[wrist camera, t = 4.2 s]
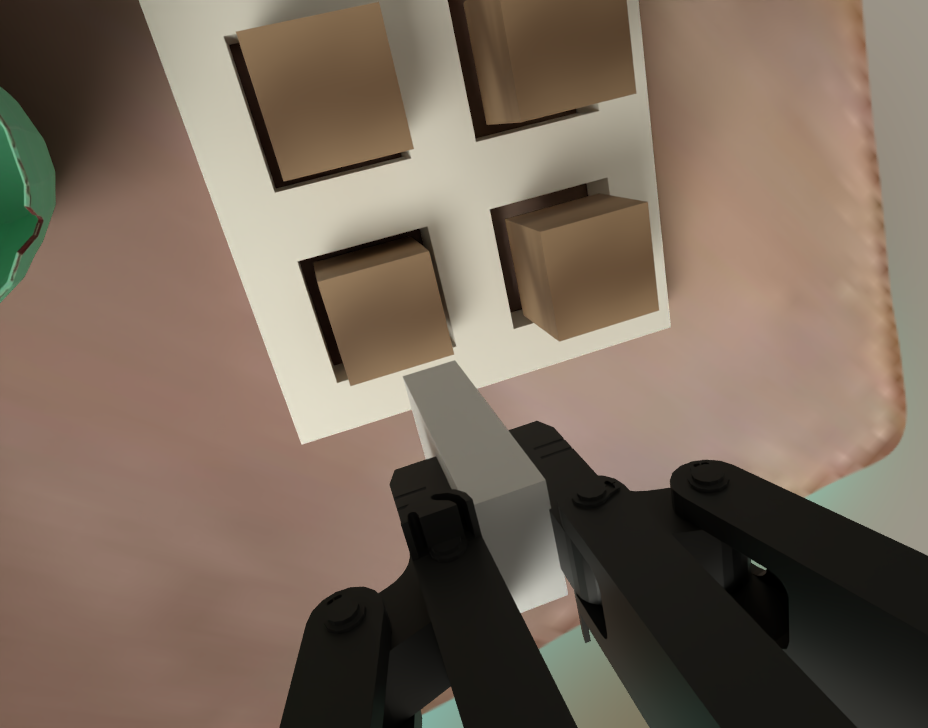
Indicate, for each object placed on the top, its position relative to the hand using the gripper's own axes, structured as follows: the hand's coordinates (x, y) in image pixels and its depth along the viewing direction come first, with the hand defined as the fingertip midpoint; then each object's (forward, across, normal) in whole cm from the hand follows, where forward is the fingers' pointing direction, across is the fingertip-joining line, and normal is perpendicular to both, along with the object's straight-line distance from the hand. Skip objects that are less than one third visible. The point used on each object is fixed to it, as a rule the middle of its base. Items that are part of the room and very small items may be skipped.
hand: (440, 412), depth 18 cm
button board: (+15, +5, +4) cm, 17 cm away
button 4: (+13, +9, +9) cm, 18 cm away
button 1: (+15, 0, 0) cm, 15 cm away
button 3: (+13, +9, 0) cm, 16 cm away
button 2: (+13, 0, +9) cm, 16 cm away
